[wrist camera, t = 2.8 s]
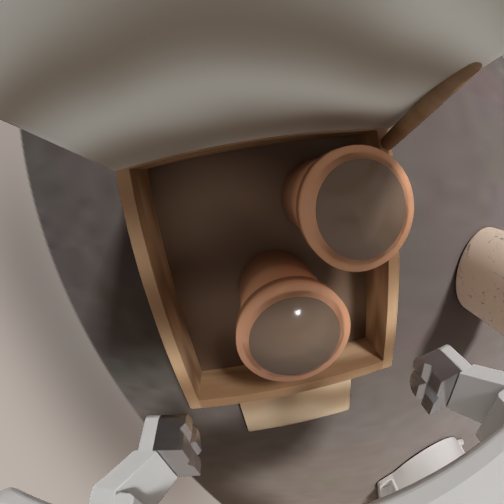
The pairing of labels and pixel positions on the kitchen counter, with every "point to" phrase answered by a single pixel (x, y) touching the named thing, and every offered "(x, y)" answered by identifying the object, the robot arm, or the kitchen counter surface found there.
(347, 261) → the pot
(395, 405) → the kitchen counter surface
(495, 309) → the teacup with lid
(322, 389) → the cork mat
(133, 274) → the kitchen counter surface
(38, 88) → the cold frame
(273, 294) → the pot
